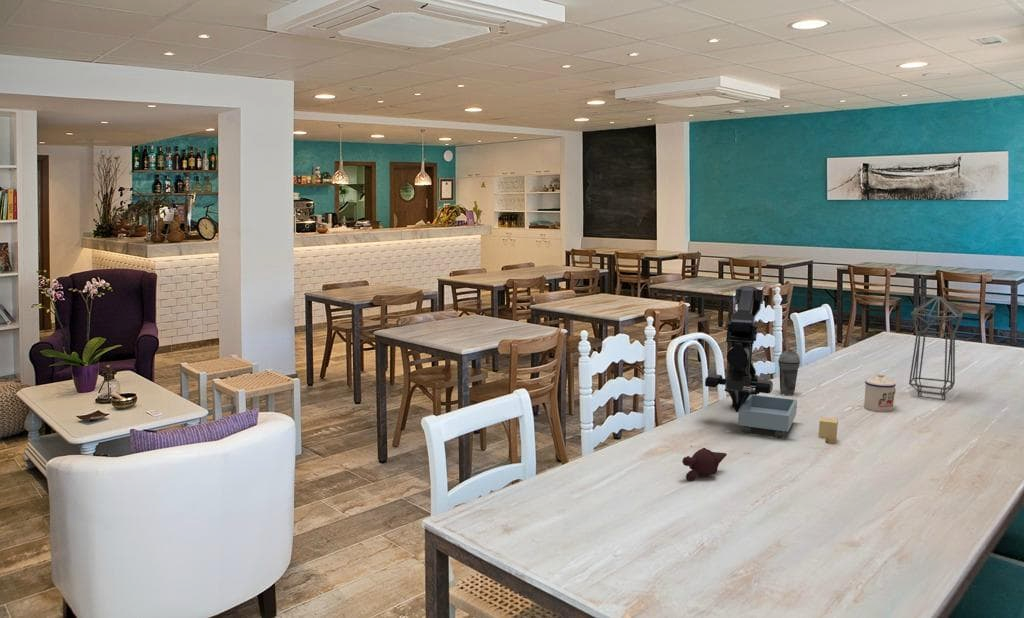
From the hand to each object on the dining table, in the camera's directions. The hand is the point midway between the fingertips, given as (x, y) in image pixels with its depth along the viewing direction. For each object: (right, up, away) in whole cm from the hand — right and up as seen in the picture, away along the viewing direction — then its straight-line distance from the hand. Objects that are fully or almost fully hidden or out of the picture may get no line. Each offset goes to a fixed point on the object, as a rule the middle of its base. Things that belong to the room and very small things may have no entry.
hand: (737, 411), depth 236 cm
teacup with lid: (+54, -2, +24) cm, 59 cm away
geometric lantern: (+79, 0, +40) cm, 88 cm away
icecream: (-19, -11, -39) cm, 44 cm away
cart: (+8, -4, -3) cm, 10 cm away
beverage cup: (+29, +1, +42) cm, 51 cm away
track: (+7, -6, -3) cm, 10 cm away
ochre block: (+23, -7, -10) cm, 26 cm away
